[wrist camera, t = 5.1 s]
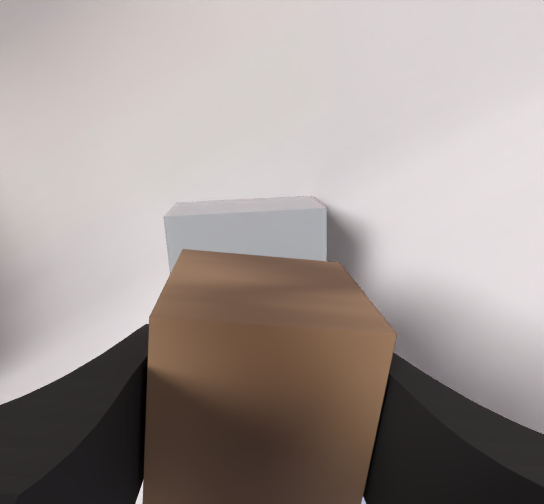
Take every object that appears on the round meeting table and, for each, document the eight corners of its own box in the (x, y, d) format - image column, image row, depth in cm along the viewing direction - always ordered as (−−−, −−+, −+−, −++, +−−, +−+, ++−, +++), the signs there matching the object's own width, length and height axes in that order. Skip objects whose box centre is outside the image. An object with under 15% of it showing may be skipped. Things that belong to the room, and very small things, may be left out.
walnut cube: (339, 262, 12) (396, 333, 8) (318, 396, 13) (356, 523, 9) (182, 248, 12) (149, 317, 7) (174, 389, 13) (142, 520, 8)
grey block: (310, 195, 19) (326, 208, 15) (312, 316, 20) (326, 351, 17) (177, 201, 18) (163, 216, 15) (189, 324, 20) (180, 362, 17)
